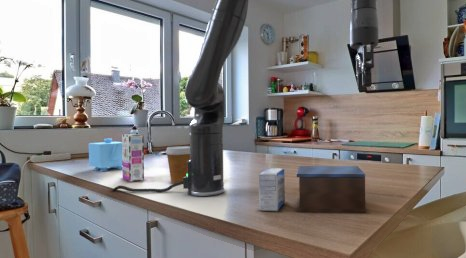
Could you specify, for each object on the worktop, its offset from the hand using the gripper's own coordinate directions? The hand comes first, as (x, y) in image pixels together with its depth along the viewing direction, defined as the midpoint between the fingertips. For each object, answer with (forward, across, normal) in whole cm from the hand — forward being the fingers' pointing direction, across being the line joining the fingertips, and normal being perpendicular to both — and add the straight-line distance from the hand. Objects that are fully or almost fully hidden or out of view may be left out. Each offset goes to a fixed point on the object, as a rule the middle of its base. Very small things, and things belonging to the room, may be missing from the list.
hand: (364, 88), depth 81 cm
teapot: (+30, -41, -105) cm, 116 cm away
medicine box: (+30, +13, -24) cm, 40 cm away
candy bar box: (+30, -19, -80) cm, 87 cm away
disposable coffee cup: (+30, -15, -60) cm, 68 cm away
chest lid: (+21, +11, -10) cm, 26 cm away
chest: (+29, +11, -10) cm, 33 cm away
